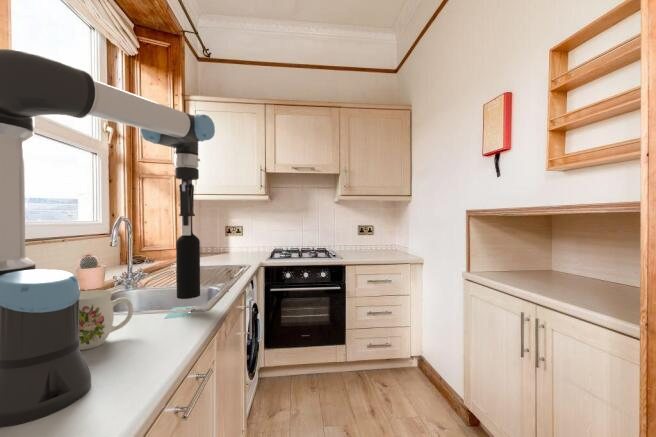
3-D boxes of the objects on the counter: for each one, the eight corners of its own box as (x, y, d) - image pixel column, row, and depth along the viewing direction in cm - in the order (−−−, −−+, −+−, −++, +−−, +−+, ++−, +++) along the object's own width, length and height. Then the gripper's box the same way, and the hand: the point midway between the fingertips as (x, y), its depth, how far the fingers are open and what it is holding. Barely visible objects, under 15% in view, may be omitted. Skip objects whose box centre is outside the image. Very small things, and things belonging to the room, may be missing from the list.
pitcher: (136, 341, 82) (136, 290, 82) (45, 362, 71) (44, 302, 70) (130, 329, 91) (129, 283, 91) (47, 346, 79) (47, 293, 79)
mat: (203, 315, 103) (203, 315, 103) (164, 318, 100) (164, 318, 100) (208, 305, 115) (208, 305, 115) (173, 308, 112) (173, 307, 112)
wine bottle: (174, 299, 103) (173, 210, 103) (179, 294, 110) (178, 210, 110) (198, 298, 105) (197, 210, 104) (201, 292, 112) (201, 210, 112)
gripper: (194, 164, 100) (195, 236, 100) (201, 171, 116) (202, 233, 116) (169, 163, 98) (170, 236, 98) (180, 170, 114) (180, 233, 114)
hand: (187, 234), depth 107 cm, fingers closed on wine bottle, 3 cm apart
